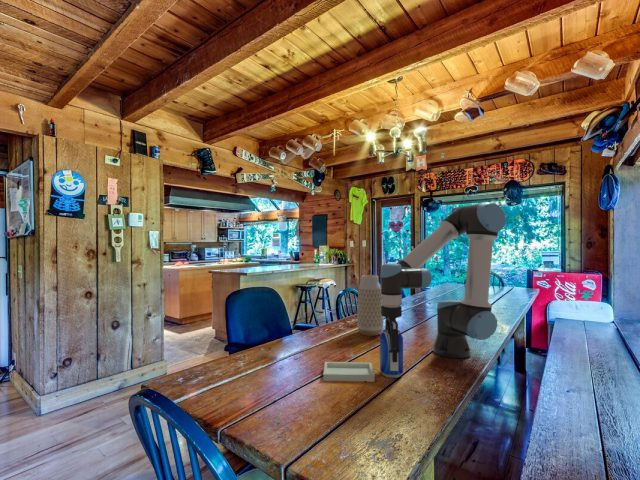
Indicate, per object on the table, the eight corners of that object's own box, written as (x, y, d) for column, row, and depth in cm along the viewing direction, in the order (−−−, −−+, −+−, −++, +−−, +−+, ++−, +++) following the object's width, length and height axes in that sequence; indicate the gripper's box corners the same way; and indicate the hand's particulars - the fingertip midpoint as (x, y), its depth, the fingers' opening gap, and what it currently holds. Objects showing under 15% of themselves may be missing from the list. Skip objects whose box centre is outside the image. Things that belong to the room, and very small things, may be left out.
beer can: (403, 379, 119) (403, 334, 119) (379, 377, 121) (379, 333, 121) (402, 370, 127) (402, 328, 127) (380, 369, 129) (380, 327, 129)
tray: (371, 368, 129) (371, 362, 129) (374, 381, 117) (374, 375, 117) (324, 367, 130) (324, 361, 130) (323, 380, 118) (323, 374, 118)
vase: (387, 332, 180) (386, 275, 180) (377, 338, 169) (376, 277, 169) (363, 328, 188) (363, 274, 188) (352, 334, 176) (352, 276, 176)
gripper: (377, 299, 136) (377, 352, 136) (385, 312, 112) (385, 376, 112) (396, 299, 136) (396, 353, 136) (408, 312, 112) (408, 377, 112)
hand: (391, 363), depth 124 cm, fingers open, 12 cm apart
